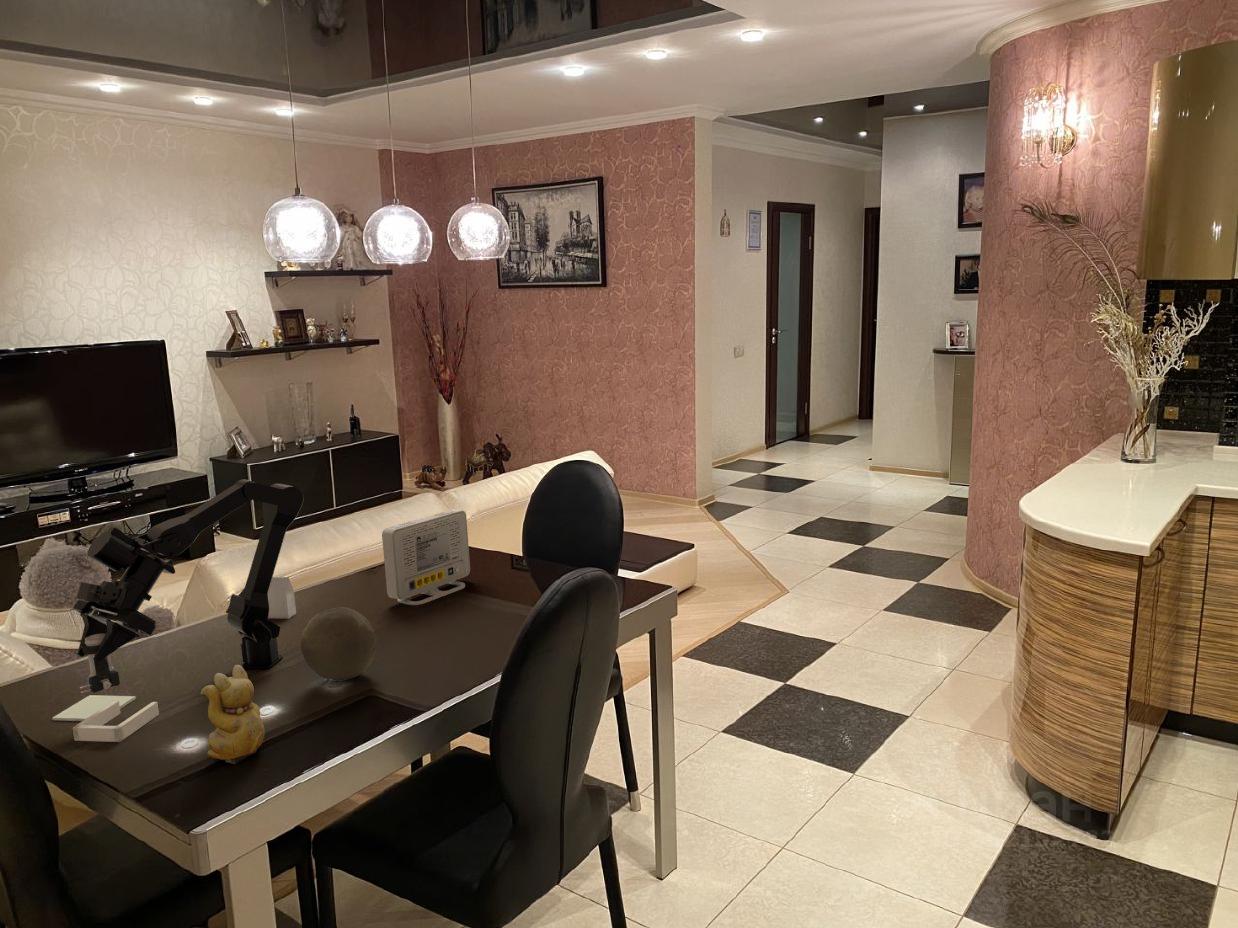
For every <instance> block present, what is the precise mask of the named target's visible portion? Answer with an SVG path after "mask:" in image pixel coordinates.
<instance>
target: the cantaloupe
mask: <svg viewBox="0 0 1238 928" xmlns="http://www.w3.org/2000/svg"><path fill="white" fill-rule="evenodd" d="M300 649H301V653H302V656H303V658H304V661H305V663H306V665H307V666H308V667H309V668H310V669H311V670H312V671H314V672H315V673H316V674H317V675H318V676H320V677H322V678H324V679H328V680H332V681H334V682H341V681H343V682H344V681H346V680H351V679H353V678H356V677H358V676H359V675H361V674H362V673H364V672H365V670H366V669H368V668H369V667H370V665H371V664H372V662H373V660H374V658H375V655H376V651H377V638H376V634H375V630H374V627H373V626H372V624H371V623H370V621H369V620H368V619H367V618H366V617H365V616H364V615H363V614H361V613H360V612H358V611H357V610H355V609H354V608H353V609H352V608H350V607H346V606H345V607H344V606H342V607H341V606H337V607H333V608H328V609H325V610H322V611H320V612H318V613H317V614H314V616H313V617H312V618H310V620H309V621H308V623H307V625H306V627H305V628H304V629H303V631H302V634H301V639H300Z"/></svg>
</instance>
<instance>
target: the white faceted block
mask: <svg viewBox="0 0 1238 928" xmlns="http://www.w3.org/2000/svg"><path fill="white" fill-rule="evenodd" d="M268 600H269V617H268V619H291V618H292V617H293V616H294V615H296V614H297V607H296V598H295V590H294V588H293V586H292V583H291V581H290V577H289V576H273V577H272V580H271V584H270V587H269V590H268Z"/></svg>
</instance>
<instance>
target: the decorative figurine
mask: <svg viewBox="0 0 1238 928" xmlns="http://www.w3.org/2000/svg"><path fill="white" fill-rule="evenodd" d="M231 673H232V676H230V677H228V676H227V675H225V674H223V673H222V672H221V673H220V672H216V674H214V677H213V682H214V684H209V685H205V686H204V687H203V688H202V689H201V691H200V696H202V697H203V696H206V697H207V699H208V700H209V702H208V703H209V704H208V707H207V715H208V720H209V721H210V723H211V724H212V725H213V726H214V727H215V730H214V731H212V732H211V733H210V734H209V735H208V738H207V746H208V747H209V750H208V751H207V756H208V757H210V758H213V759H216V760H221V761H225V763H228V764H232V765H236V764H238V763H239V762H241V761H243V760H244V759H246V758H248V757H249V756H251V755H253V754H255V753H257V751H258V749H259V748H260V747H261V746H262V744H263V742H264V739H265V731H266V730H265V726H264V722H263V719H262V717H261V710H260V707H259V705H258V704H257V703H254V702H253V701H252V699H253V697H254V693H255V689H254V685H253V683H252V681H251V679H249V677H248V673H247V671H246V670H245V668H243V667H242V666H241V665H240V664H235V665H234V666H233V668H232V672H231Z"/></svg>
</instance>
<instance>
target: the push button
mask: <svg viewBox="0 0 1238 928" xmlns="http://www.w3.org/2000/svg"><path fill="white" fill-rule="evenodd" d="M105 635H106V634H95V635H91V636H89V637H87V638H85V642H83V643H82V644H81V645H80V644H79V646H80V647H81V648H82V649H83V652H84V654H86V655H87V660H88V665H89V670H90V673H89V676H88V677H87V678H86V680H87V684H85V685H82V686H80V687H79V688H80V689H84V688H86V689H85V690H82V691H80V693H81V694H84V693H88V692H92V693H98V692H100V691H103V690H107V689H110V688H112V687H118V686H119V685H120V684H121V681H120V674H119V672H118V671H116V670H115V667H114V666H113V663H112V658H111V657H112V656H111V654H109V655H108V656H107V657H105V658H104V659H102V660H101V661H99V662H97V661H95V660H94V659H93V658H94V656H95V654H96V652H97V650H98V648H99V646H100V644H101V642H102V640H103V638H104V636H105ZM87 687H88V688H87Z"/></svg>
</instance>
